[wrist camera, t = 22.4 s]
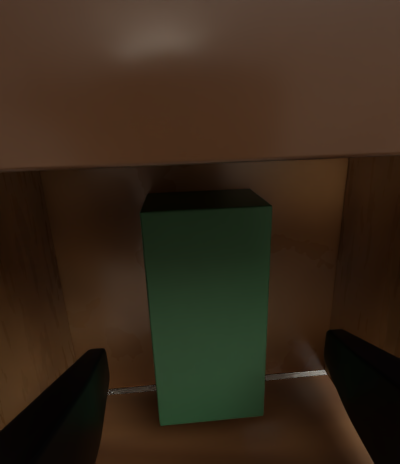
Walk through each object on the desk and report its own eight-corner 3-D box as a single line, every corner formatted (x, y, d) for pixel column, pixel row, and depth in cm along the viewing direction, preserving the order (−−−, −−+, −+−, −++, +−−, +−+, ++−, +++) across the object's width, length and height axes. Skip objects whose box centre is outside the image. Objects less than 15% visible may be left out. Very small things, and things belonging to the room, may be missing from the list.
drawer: (328, 460, 17) (422, 659, 11) (79, 488, 16) (19, 724, 10) (388, 22, 11) (717, -141, 4) (-23, 26, 10) (-403, -175, 3)
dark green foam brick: (247, 363, 13) (263, 416, 11) (161, 370, 13) (159, 427, 11) (250, 188, 11) (273, 205, 8) (146, 193, 11) (139, 211, 8)
